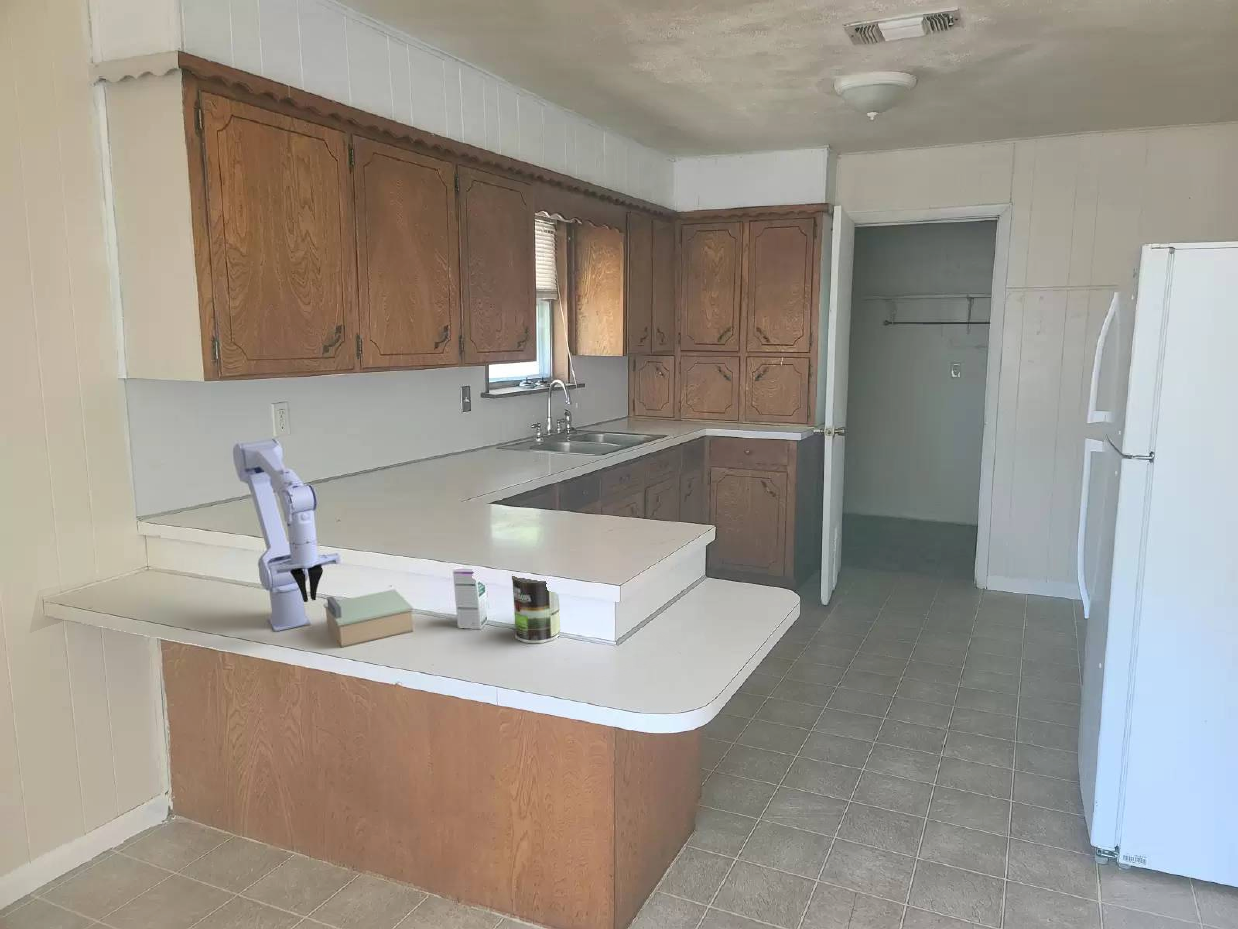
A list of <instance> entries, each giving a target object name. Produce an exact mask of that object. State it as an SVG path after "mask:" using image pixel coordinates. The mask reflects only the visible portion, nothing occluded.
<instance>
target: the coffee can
mask: <svg viewBox="0 0 1238 929" xmlns="http://www.w3.org/2000/svg"><path fill="white" fill-rule="evenodd" d="M511 580H512V592H513V593H512V594H513V595H512V596H513V608H514V610H513V611H514V631H515V634H514V637H515V638H516V640H518V641H519V642H521V643H525V644H526V643H527V644H544V643H548V641H549V642H552V641H555V640H556V639H558V638H559V637H560V636H559V633H560V631H561V616H559V611H560V595H559V596H558V594H557V593H555V592H551V591H548V590H547V587H546V584H547V583H546V581H537V580H531V579H525V578H517V577H515V576H512V575H511ZM558 597H559V598H558ZM558 636H559V637H558ZM557 637H558V638H557ZM555 638H556V639H555ZM554 639H555V640H554ZM551 640H552V641H551Z"/></svg>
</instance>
